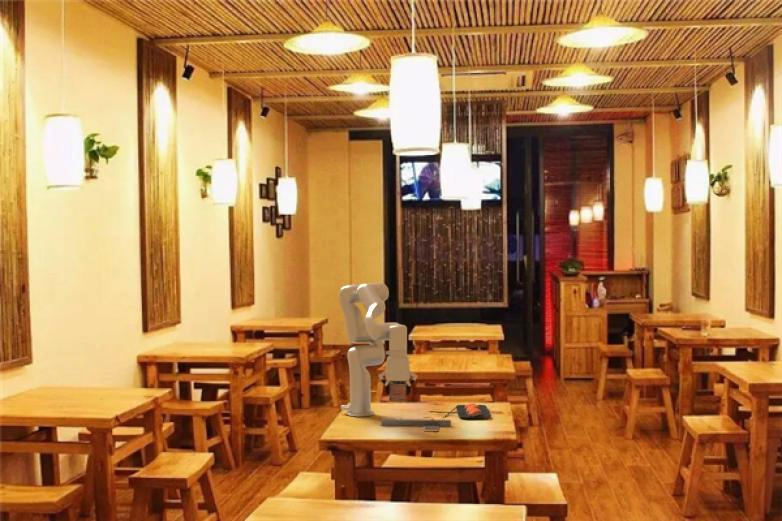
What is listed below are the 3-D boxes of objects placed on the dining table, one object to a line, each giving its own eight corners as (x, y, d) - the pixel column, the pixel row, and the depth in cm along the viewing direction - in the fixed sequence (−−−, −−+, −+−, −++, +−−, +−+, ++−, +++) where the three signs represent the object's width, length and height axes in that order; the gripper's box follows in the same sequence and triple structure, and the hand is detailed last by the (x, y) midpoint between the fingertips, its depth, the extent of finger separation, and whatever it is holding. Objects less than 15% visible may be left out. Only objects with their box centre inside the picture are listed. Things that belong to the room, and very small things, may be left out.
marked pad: (423, 431, 359) (423, 430, 359) (425, 426, 370) (425, 424, 370) (438, 431, 358) (438, 430, 358) (439, 426, 369) (439, 425, 369)
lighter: (408, 400, 366) (408, 377, 366) (405, 402, 363) (405, 378, 362) (390, 399, 369) (390, 376, 368) (387, 400, 365) (387, 377, 365)
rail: (381, 425, 371) (381, 418, 371) (381, 424, 374) (381, 417, 374) (450, 426, 369) (450, 419, 369) (450, 425, 371) (450, 418, 371)
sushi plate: (491, 421, 381) (491, 412, 381) (424, 421, 382) (424, 413, 382) (485, 408, 410) (485, 400, 410) (423, 408, 411) (423, 400, 411)
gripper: (376, 354, 362) (376, 396, 363) (418, 355, 360) (417, 396, 361) (378, 352, 369) (378, 392, 370) (418, 352, 368) (418, 393, 368)
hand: (397, 394), depth 366 cm, fingers closed on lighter, 8 cm apart
